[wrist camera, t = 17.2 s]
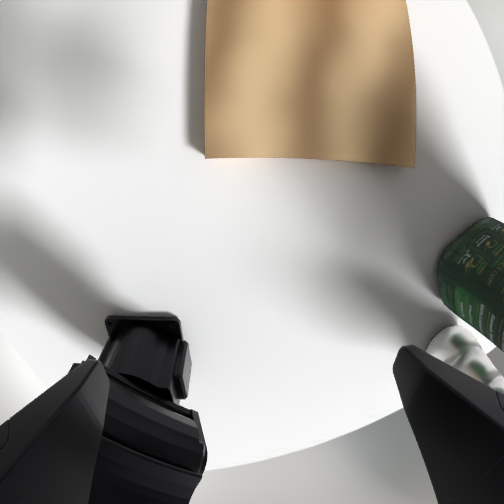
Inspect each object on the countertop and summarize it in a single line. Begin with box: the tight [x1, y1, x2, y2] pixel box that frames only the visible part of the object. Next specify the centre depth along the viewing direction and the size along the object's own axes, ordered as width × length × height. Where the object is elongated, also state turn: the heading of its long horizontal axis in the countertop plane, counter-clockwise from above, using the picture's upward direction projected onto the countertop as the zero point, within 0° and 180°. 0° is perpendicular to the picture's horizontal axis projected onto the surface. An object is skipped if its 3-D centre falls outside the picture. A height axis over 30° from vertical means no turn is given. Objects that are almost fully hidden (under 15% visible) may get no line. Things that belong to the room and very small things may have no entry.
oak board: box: [204, 0, 416, 168], centre depth 13 cm, size 14×22×2 cm, turn 0°
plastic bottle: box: [426, 326, 504, 394], centre depth 17 cm, size 6×7×20 cm
